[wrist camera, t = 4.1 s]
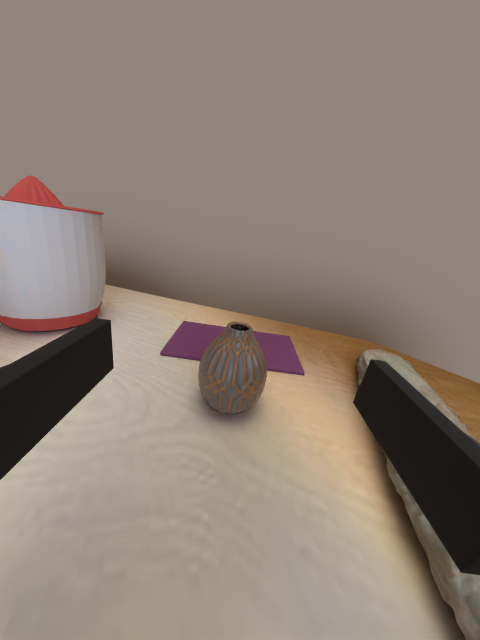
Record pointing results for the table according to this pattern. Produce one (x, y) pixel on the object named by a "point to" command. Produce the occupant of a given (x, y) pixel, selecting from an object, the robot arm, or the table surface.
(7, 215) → the citrus juicer
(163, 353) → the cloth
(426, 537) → the long grey stone
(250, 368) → the vase
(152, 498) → the table surface
